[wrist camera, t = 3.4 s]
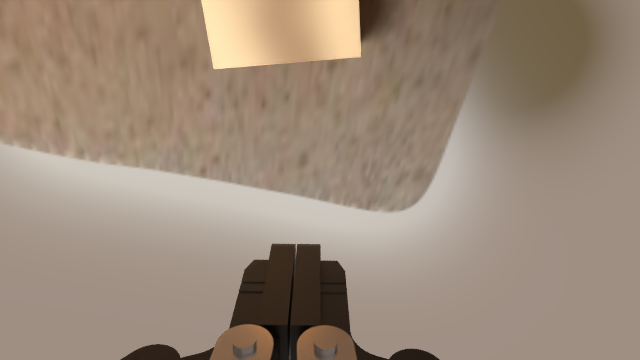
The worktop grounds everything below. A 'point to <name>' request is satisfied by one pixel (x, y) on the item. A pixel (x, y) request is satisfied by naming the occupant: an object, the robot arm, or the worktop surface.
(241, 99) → the worktop surface
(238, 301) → the robot arm
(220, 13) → the block
